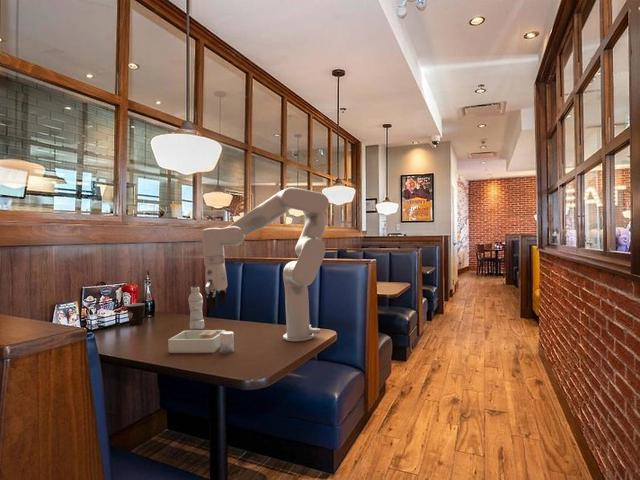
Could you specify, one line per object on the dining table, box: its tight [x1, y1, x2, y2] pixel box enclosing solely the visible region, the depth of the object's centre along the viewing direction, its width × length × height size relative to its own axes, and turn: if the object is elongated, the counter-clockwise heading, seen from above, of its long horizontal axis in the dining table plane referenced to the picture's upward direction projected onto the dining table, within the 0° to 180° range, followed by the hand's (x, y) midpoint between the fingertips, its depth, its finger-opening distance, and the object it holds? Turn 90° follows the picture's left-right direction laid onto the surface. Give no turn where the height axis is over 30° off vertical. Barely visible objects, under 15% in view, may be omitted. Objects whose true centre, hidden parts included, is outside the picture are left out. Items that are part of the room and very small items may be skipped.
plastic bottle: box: [187, 286, 205, 331], centre depth 182 cm, size 6×7×20 cm
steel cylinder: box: [219, 330, 235, 355], centre depth 146 cm, size 5×5×7 cm
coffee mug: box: [126, 302, 149, 327], centre depth 198 cm, size 12×9×10 cm
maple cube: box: [199, 331, 217, 339], centre depth 153 cm, size 5×5×5 cm
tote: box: [167, 329, 227, 354], centre depth 153 cm, size 18×14×5 cm
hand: (217, 305), depth 149 cm, fingers open, 9 cm apart
